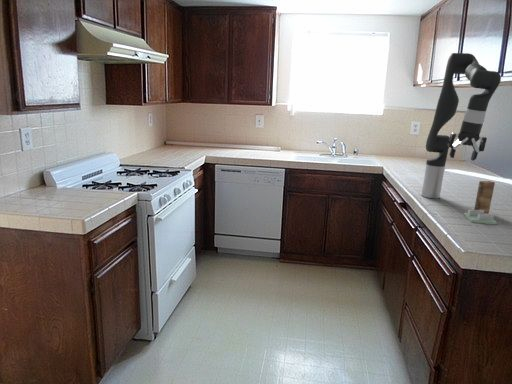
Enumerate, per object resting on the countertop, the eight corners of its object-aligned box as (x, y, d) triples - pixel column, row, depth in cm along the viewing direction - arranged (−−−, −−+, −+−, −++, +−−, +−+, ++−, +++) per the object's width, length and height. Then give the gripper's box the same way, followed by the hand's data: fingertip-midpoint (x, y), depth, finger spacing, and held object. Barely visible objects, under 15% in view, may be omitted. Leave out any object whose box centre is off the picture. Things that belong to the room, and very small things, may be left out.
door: (472, 212, 191) (478, 181, 187) (483, 211, 193) (489, 180, 189) (477, 213, 188) (483, 182, 184) (488, 213, 190) (494, 182, 187)
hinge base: (463, 214, 185) (465, 207, 185) (488, 217, 183) (489, 209, 183) (470, 222, 175) (472, 213, 174) (496, 224, 173) (498, 216, 172)
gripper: (487, 121, 168) (475, 158, 174) (452, 117, 169) (442, 154, 175) (495, 124, 161) (482, 163, 167) (458, 120, 162) (447, 159, 168)
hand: (462, 158), depth 171 cm, fingers open, 8 cm apart
